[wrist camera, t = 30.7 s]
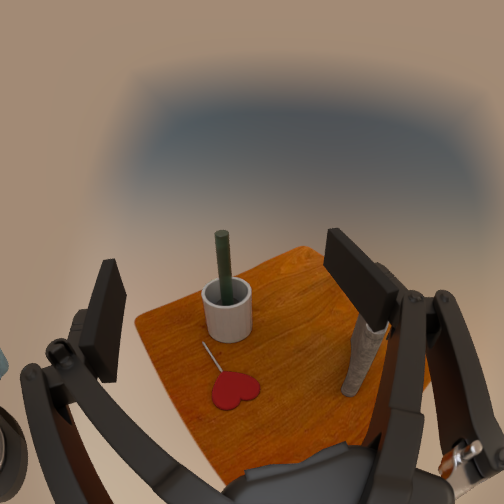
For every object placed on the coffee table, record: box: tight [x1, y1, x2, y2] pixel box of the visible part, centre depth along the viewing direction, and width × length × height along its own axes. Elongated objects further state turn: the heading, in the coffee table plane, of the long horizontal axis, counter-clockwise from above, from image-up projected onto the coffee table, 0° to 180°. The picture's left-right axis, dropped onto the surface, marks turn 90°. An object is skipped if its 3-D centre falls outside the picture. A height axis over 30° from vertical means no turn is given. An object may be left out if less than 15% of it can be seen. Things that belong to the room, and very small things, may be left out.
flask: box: [341, 313, 389, 397], centre depth 41 cm, size 4×14×18 cm, turn 159°
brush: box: [215, 230, 239, 306], centre depth 50 cm, size 5×5×20 cm
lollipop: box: [202, 342, 260, 410], centre depth 46 cm, size 8×1×15 cm
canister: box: [202, 277, 252, 343], centre depth 53 cm, size 9×9×9 cm
